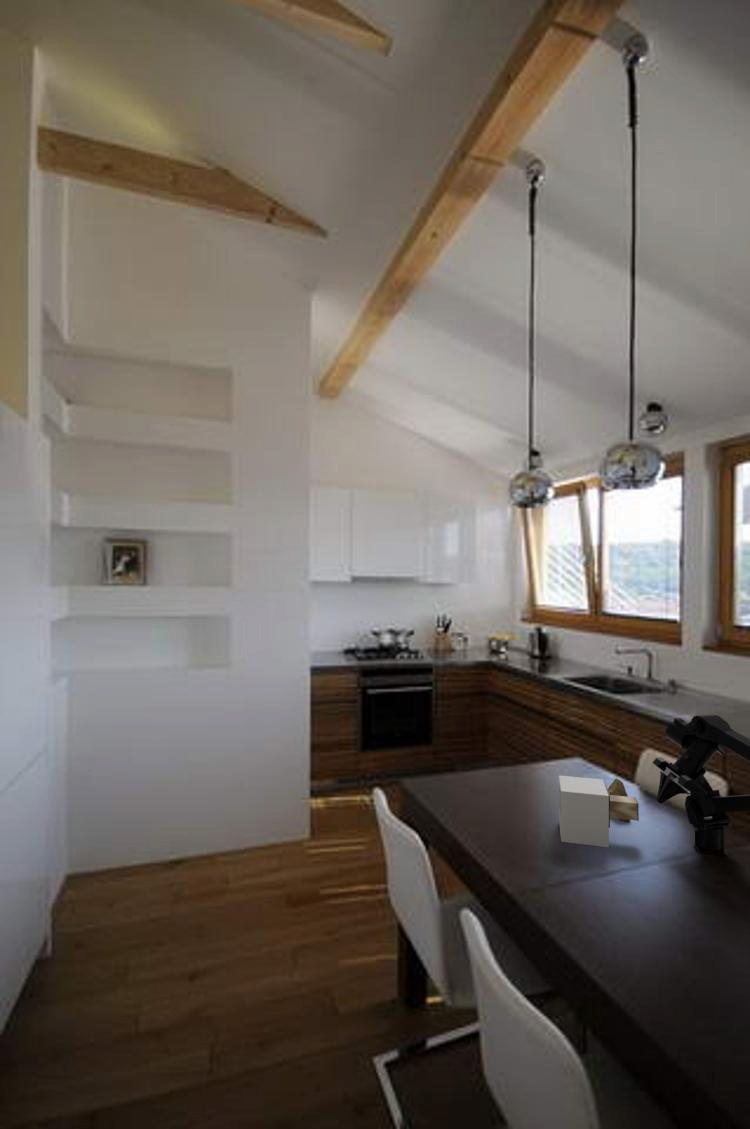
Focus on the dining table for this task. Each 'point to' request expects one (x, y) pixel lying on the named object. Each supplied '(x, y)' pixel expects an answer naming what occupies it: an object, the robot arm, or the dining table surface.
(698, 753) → the robot arm
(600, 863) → the dining table surface
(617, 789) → the rock
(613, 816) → the peg
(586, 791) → the off-white upright box
